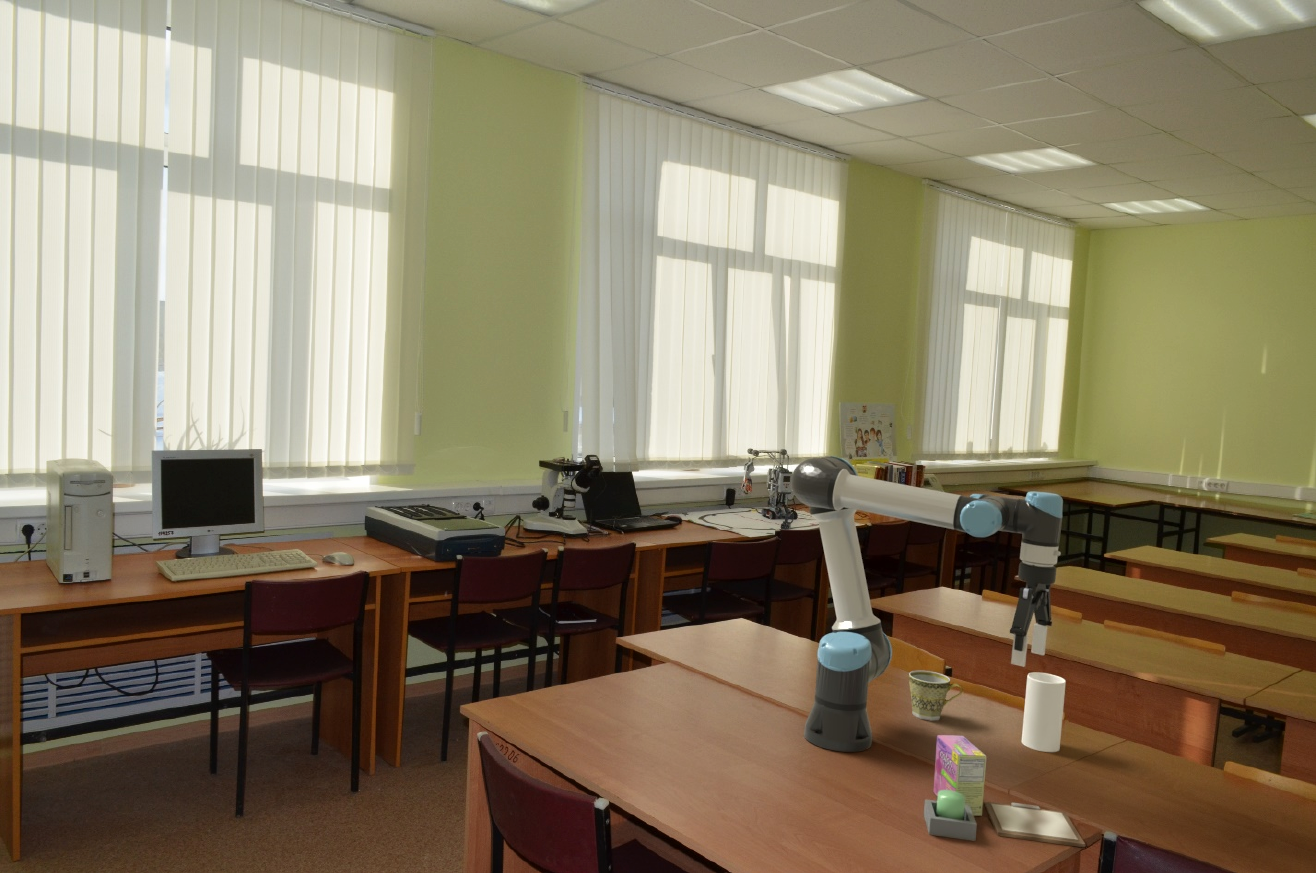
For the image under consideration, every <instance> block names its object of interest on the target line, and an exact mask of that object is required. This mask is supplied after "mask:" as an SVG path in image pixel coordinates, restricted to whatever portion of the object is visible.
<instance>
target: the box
mask: <svg viewBox="0 0 1316 873" xmlns="http://www.w3.org/2000/svg"><path fill="white" fill-rule="evenodd" d="M934 763H935V765H934V778H933V779H934V780H933V793H934V794H935V795H936V797H937V798H938V792H939V791H941V790H952V791H956V792H959V793H961V794H962V795H964V796H965V805H969V806H970V809H971V811H972V814H973V816H974V817H976V816H979V817H981V816H983V803H984V792H985V791H984V790H985V779H986V767H987V755H986V754H984V752H982V751H981V750H980V749H979V748H978V747H977V746H975V744H973V743H972V742H971V741H970V740H969V739H968V738H966V737H965V736H964V735H953V734H951V735H950V734H949V735H947V734H938V735H937V736H936V748H935V762H934Z"/></svg>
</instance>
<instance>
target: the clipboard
mask: <svg viewBox="0 0 1316 873" xmlns="http://www.w3.org/2000/svg"><path fill="white" fill-rule="evenodd" d="M983 803H984V807H985V810H986V812H987V813H988V816H989V819H990V822H991V824H992V826H993V828H994V830H995V832H996V835H997V836H1000V837H1006V838H1015V839H1021V840H1029V841H1034V842H1035V841H1036V842H1043V843H1050V844H1058V845H1064V846H1072V847H1080V848H1086V843H1085V841H1084V840H1083V837H1081V835H1080V833H1079V832H1078V830H1077V828H1076V827H1075V825H1074V823H1073V822H1072V820H1071V819H1070V817H1069V815H1068V813H1067V812H1064V811H1057V810H1050V809H1043V808H1040V806H1039V805H1033V804H1026V803H1020V802H1019V803H1018V802H1011V804H1004V803H997V802H991V801H983Z"/></svg>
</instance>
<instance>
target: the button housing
mask: <svg viewBox="0 0 1316 873" xmlns="http://www.w3.org/2000/svg"><path fill="white" fill-rule="evenodd" d="M923 806H924V807H923V808H924V809H923V817H924V820H925V825H926V829H927V833H928V835H930V836H937V837H938V836H939V837H945V838H952V839H960V840H966V841H975V842H976V838H977V828H978V827H977V826H978V824H977V821H976V820H975V816H973V814H972V811H971V809H970V806H969V805H965V808H964V819H963V820H958V819H950V818H943V817H936V810H937V800H932V799H924V805H923Z"/></svg>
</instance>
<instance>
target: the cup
mask: <svg viewBox="0 0 1316 873" xmlns="http://www.w3.org/2000/svg"><path fill="white" fill-rule="evenodd" d="M1066 682H1067V681H1066V679H1065V678H1063V677H1061V676H1058V675H1055V674H1051V673H1047V672H1038V671H1037V672H1029V673H1028V674H1027V677H1026V688H1025V699H1024V700H1025V701H1024V708H1023V709H1024V710H1023V720H1022V734H1021V744H1022V745H1024V746H1025V747H1027V748H1029V749H1031V750H1034V751H1039V752H1046V753H1056V752H1059V751H1060V750H1061V749H1060V747H1061V738H1062V737H1061V736H1062V726H1063V716H1064V715H1063V714H1064V704H1065V693H1066V692H1065V691H1066Z"/></svg>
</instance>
